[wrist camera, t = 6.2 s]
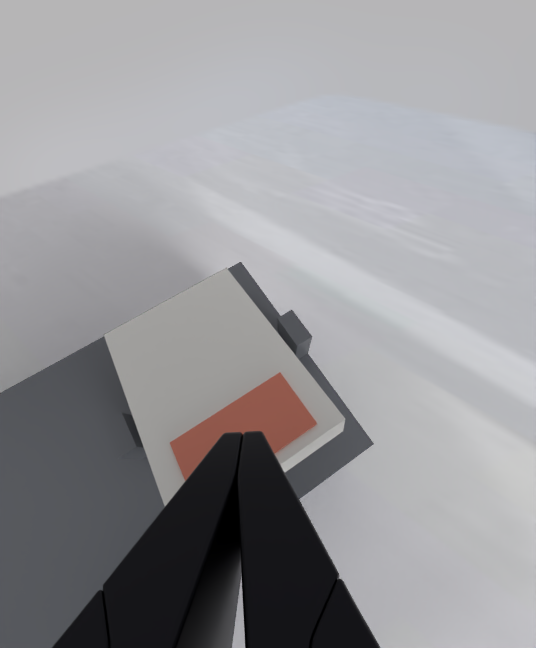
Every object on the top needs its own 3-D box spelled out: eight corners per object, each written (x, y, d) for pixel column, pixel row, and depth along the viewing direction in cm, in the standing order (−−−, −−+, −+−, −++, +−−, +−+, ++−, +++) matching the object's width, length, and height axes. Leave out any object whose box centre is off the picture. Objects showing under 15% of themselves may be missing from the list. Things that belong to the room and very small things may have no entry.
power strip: (342, 450, 16) (390, 440, 9) (-141, 800, 12) (-744, 1286, 5) (249, 314, 20) (231, 230, 13) (-157, 552, 15) (-535, 630, 8)
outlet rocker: (343, 431, 9) (345, 417, 8) (193, 537, 8) (174, 538, 7) (233, 287, 13) (225, 266, 12) (121, 350, 12) (102, 333, 11)
